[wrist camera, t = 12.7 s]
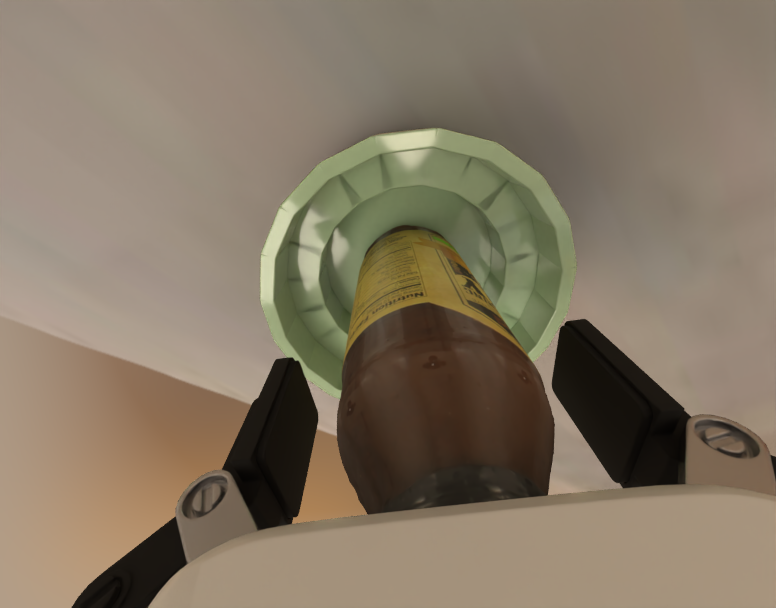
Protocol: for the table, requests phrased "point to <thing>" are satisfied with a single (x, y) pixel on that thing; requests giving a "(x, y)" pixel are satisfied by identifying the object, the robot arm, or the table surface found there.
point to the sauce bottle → (436, 386)
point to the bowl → (415, 208)
